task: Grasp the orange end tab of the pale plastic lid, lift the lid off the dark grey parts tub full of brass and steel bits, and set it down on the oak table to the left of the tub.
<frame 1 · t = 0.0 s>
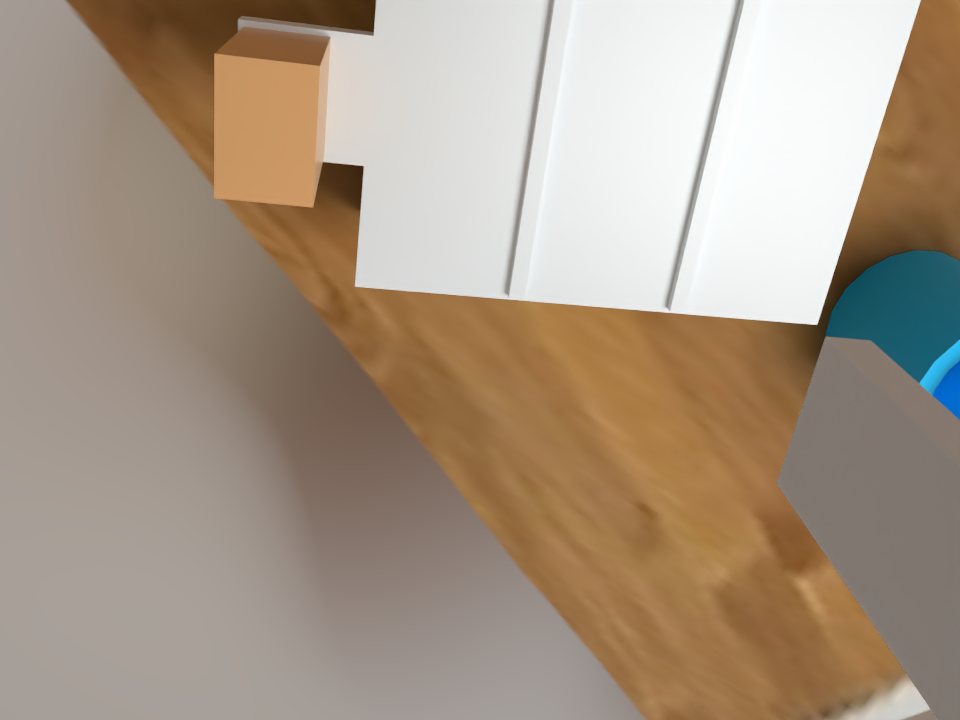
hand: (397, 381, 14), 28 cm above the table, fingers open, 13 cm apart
lid: (623, 126, 33), point 7 cm above the table, touching tub
mug: (916, 348, 48), on the table
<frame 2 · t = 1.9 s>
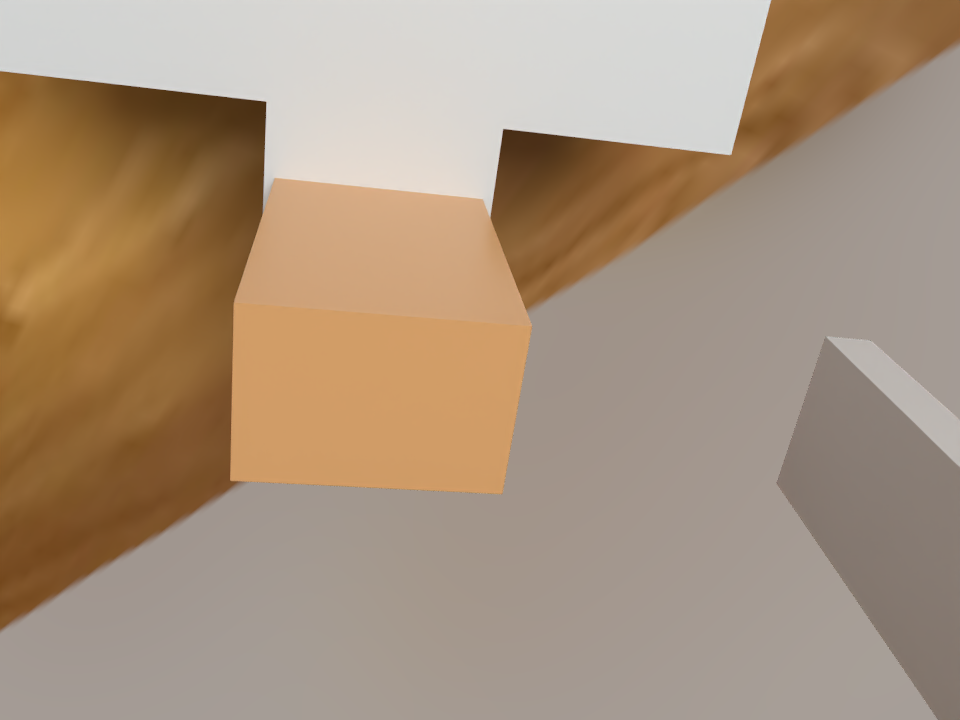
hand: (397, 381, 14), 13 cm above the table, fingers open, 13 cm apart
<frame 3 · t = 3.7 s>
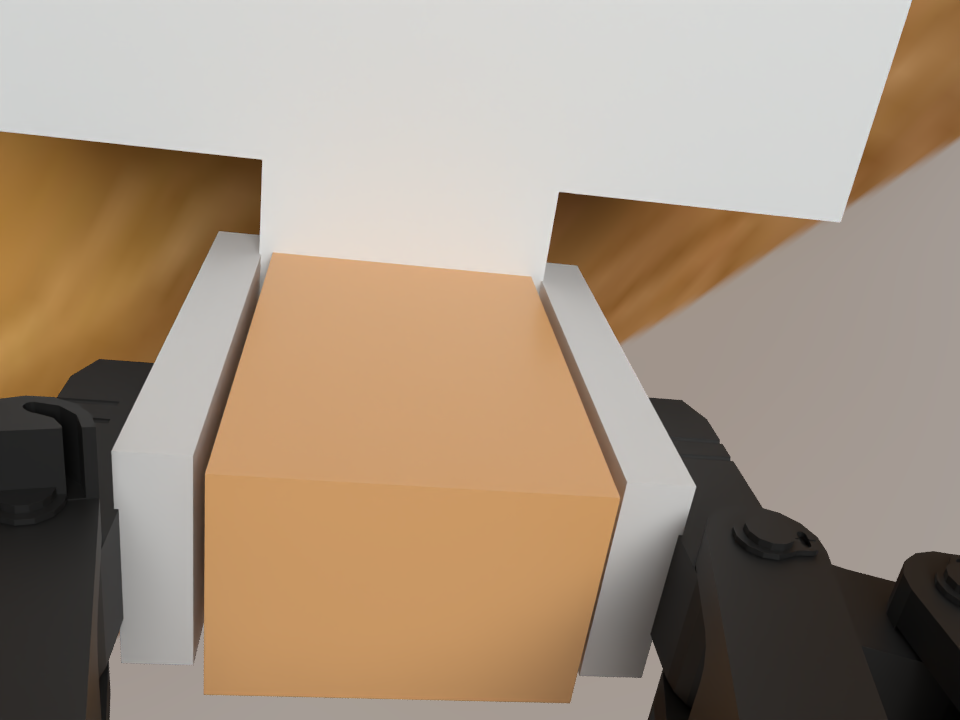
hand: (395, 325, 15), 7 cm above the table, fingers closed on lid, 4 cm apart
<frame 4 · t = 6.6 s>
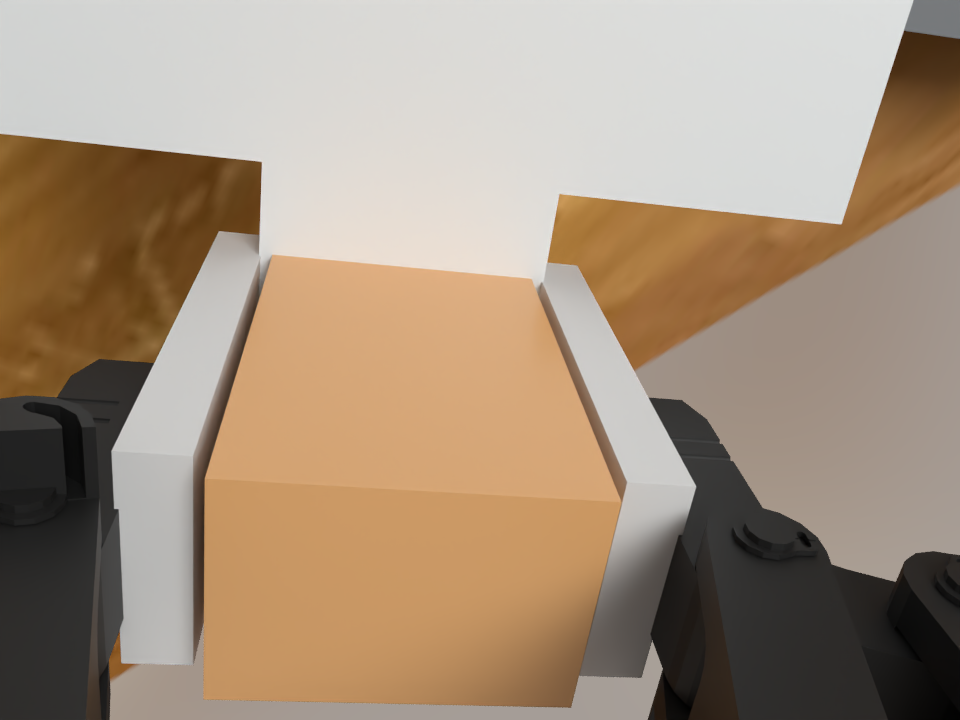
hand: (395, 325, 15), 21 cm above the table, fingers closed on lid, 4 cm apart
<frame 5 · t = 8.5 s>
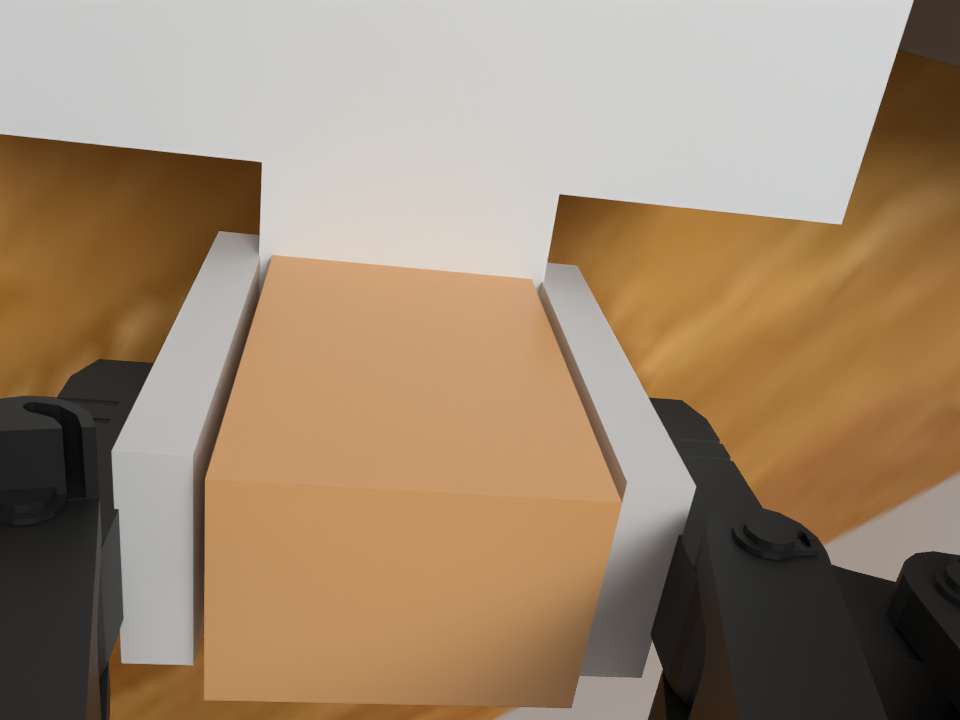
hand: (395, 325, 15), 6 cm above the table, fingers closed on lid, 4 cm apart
when the fingers open (2 cm above the table, at t = 10.0 s): lid drops 2 cm, on the table.
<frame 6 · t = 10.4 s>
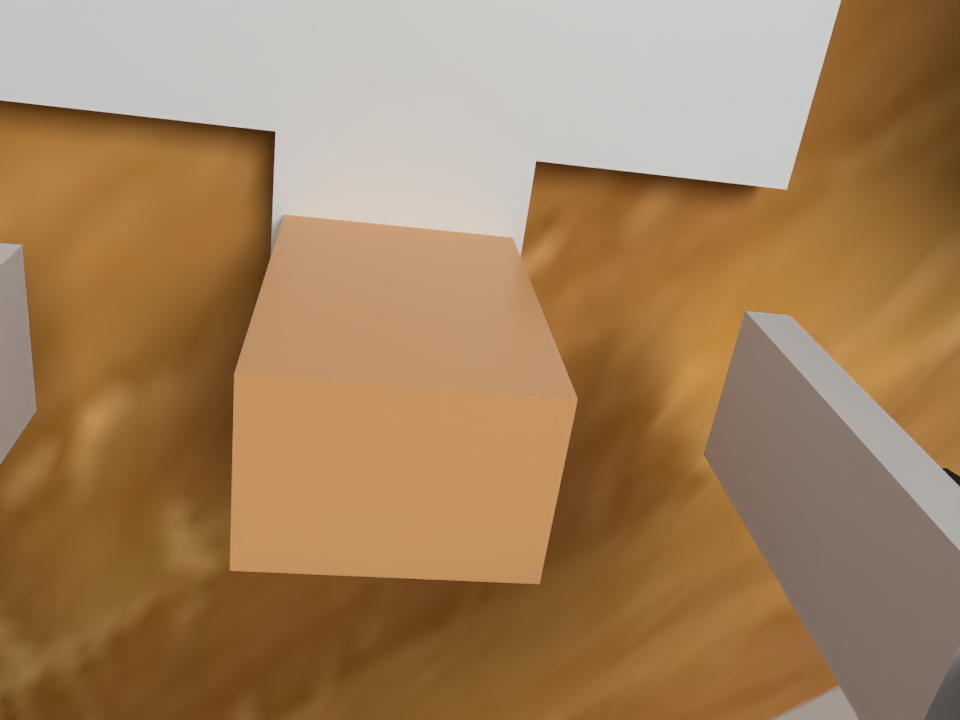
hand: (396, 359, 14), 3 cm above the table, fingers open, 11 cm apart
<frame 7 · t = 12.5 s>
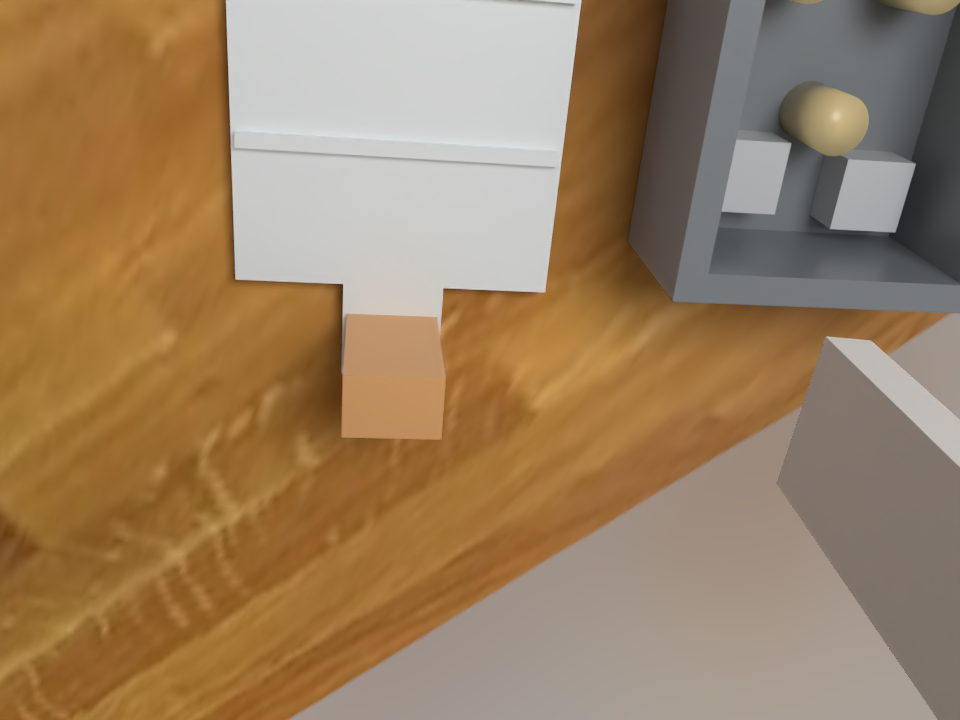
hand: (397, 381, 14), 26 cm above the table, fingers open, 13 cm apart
lid: (403, 63, 37), on the table
tub: (811, 45, 38), on the table
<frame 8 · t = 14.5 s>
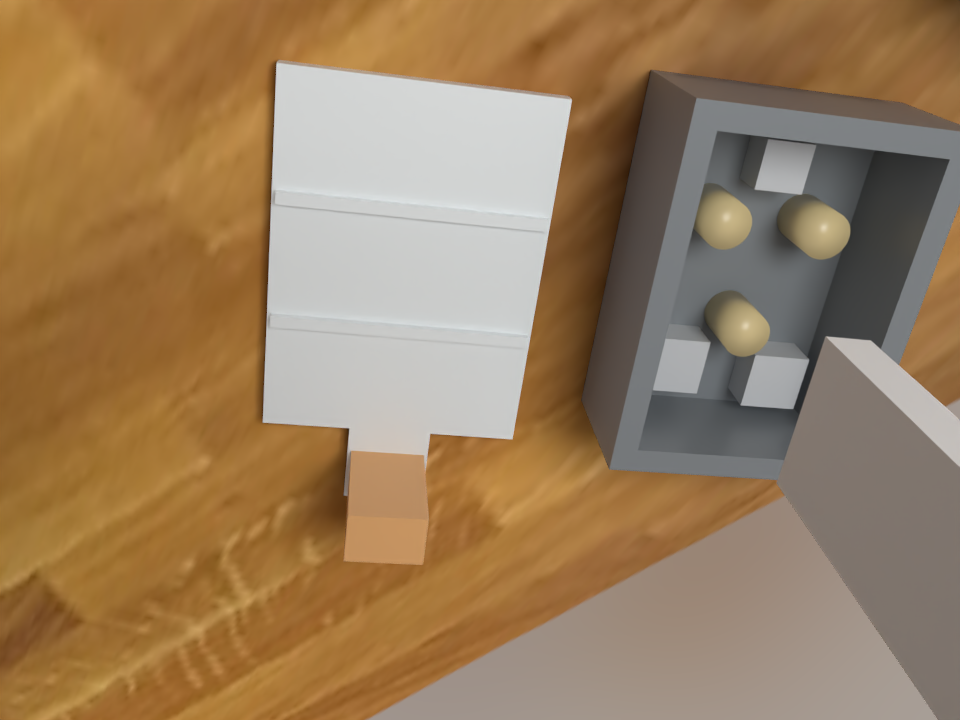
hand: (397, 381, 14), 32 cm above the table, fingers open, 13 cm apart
lid: (406, 264, 46), on the table
tub: (731, 260, 48), on the table
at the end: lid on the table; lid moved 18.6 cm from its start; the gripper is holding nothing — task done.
